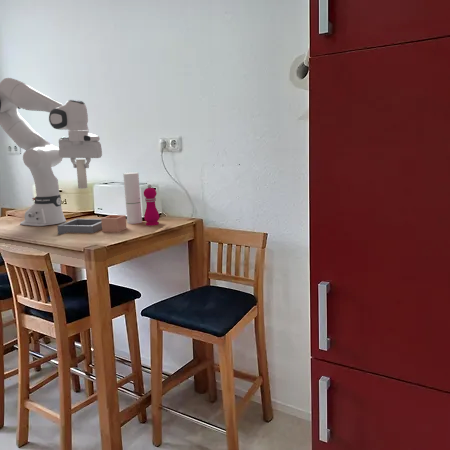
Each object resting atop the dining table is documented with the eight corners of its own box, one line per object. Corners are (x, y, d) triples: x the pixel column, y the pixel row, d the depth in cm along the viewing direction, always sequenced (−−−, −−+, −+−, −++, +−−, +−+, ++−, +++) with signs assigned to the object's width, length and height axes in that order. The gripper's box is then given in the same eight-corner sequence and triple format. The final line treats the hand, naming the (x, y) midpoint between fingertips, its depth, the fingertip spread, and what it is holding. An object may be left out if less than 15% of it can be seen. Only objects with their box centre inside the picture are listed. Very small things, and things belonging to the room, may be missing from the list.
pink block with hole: (102, 233, 214) (101, 218, 213) (111, 229, 222) (109, 215, 220) (118, 234, 212) (117, 218, 211) (126, 230, 220) (125, 215, 218)
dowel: (76, 188, 216) (74, 159, 214) (81, 187, 220) (79, 158, 217) (84, 188, 216) (82, 159, 213) (88, 187, 219) (86, 159, 216)
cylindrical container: (143, 222, 236) (140, 172, 230) (140, 225, 229) (136, 173, 223) (129, 222, 236) (125, 172, 231) (125, 225, 229) (121, 174, 224)
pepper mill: (153, 228, 221) (150, 185, 217) (141, 227, 225) (138, 185, 221) (163, 225, 227) (160, 183, 223) (151, 224, 231) (148, 183, 227)
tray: (58, 234, 217) (57, 225, 216) (77, 226, 232) (76, 218, 231) (93, 235, 212) (92, 226, 211) (110, 227, 227) (109, 219, 226)
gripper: (54, 137, 212) (57, 168, 215) (95, 137, 208) (97, 168, 211) (62, 136, 218) (64, 166, 221) (102, 136, 214) (104, 167, 217)
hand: (81, 167), depth 216 cm, fingers closed on dowel, 4 cm apart
